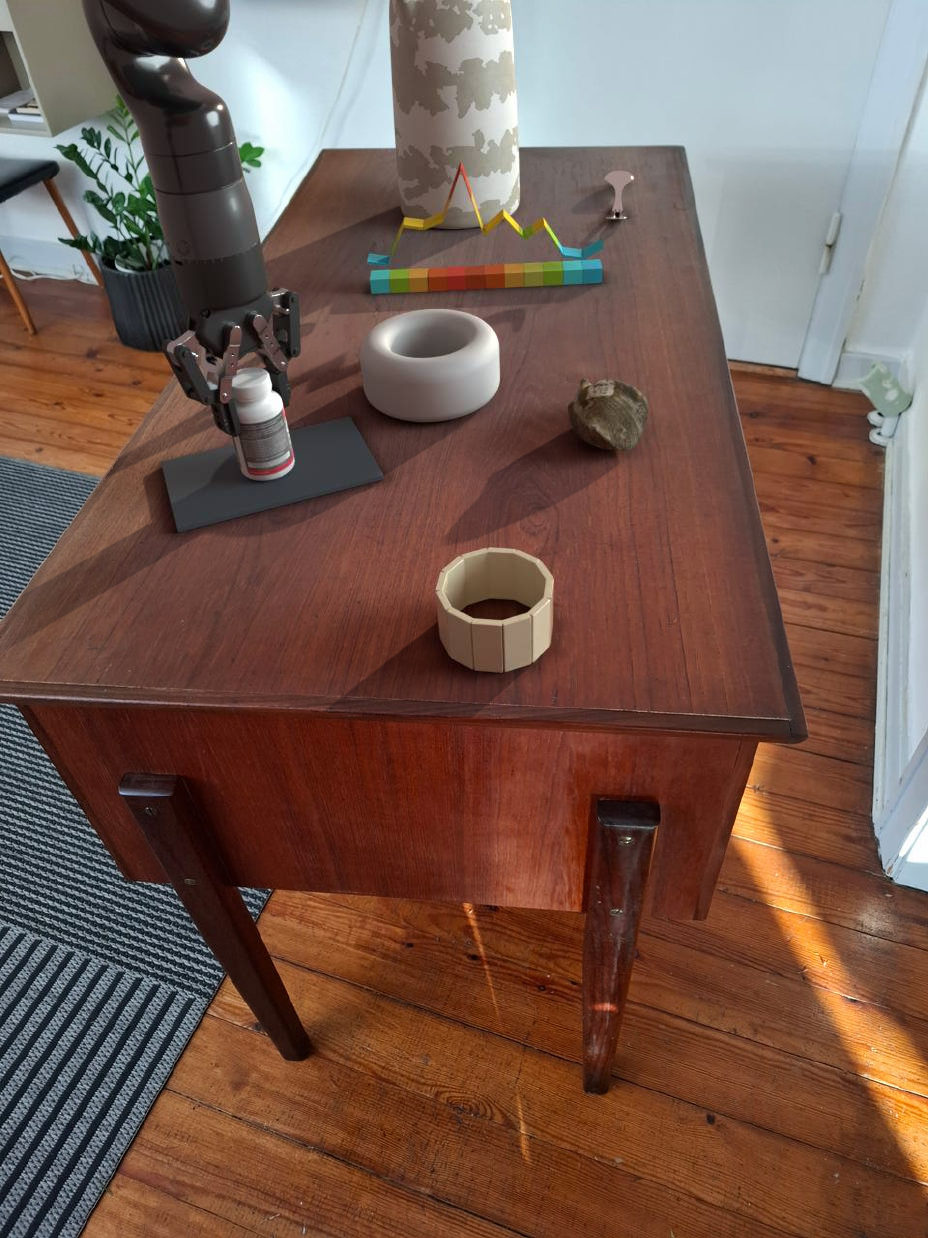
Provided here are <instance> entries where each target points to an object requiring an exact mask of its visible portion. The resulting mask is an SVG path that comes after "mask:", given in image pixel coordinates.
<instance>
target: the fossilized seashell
mask: <svg viewBox="0 0 928 1238" xmlns="http://www.w3.org/2000/svg"><path fill="white" fill-rule="evenodd" d="M649 410H650V409H649V403H648V399H647V398H646V395H644V394H643V392H642V391H640V390H639V389H638V388H636V387H635V386H633V385H632V384H628V383H626V382H624V381H621V380H617V379H616V380H614V379H601V380H599V381H596V382H594V383H590V380H589V379H588V378H586V377H585V378H582V379H581V380H580V385H579V388H578V391H577V392H576V395H575V396H574V397H573V399H572V400H571V401H570V402H569V403H568V405H567V412H568V418H569V421H570V425H571V427H572V429H573V430H572V431H573V432H574V433H575V434H576V435H577V436H578V437H579V438H580V439H581V440H582V441H584V442H585V443H587V444H588V445H591V446H593V447H596V448H598V449H602V450H606V451H607V450H608V451H622V452H628V451H631V449H634V448H635V447H636V446H637V445H638V444H639V442H640V441H641V438H642V437H643V434H644V432H645V427H646V424H647V420H648V415H649Z"/></svg>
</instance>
